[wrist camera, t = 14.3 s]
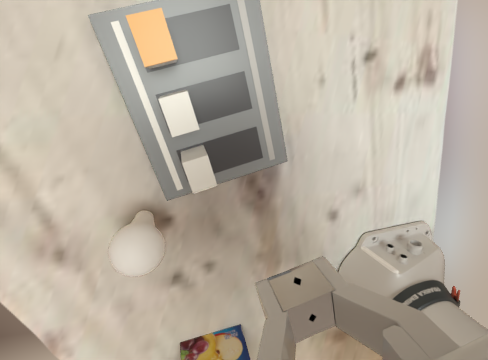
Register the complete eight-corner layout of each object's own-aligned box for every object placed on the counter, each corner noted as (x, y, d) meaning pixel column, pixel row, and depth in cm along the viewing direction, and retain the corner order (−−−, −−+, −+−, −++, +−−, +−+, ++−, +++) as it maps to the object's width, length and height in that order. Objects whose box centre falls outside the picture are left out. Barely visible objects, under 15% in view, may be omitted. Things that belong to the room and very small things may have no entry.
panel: (250, -15, 29) (271, -42, 23) (282, 157, 38) (303, 172, 32) (93, 19, 27) (68, 0, 20) (167, 194, 36) (165, 219, 30)
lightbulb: (115, 226, 36) (93, 282, 26) (131, 190, 34) (113, 234, 24) (157, 238, 38) (151, 293, 28) (173, 204, 37) (173, 250, 27)
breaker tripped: (163, 20, 26) (161, 7, 22) (177, 62, 28) (177, 58, 23) (134, 27, 26) (125, 15, 21) (149, 69, 28) (144, 67, 23)
